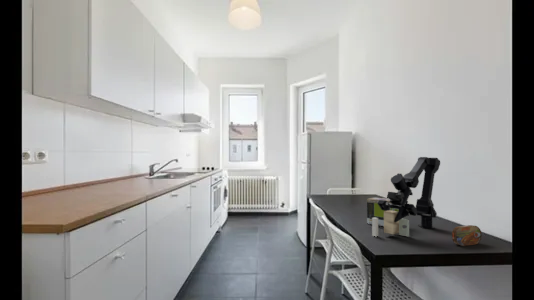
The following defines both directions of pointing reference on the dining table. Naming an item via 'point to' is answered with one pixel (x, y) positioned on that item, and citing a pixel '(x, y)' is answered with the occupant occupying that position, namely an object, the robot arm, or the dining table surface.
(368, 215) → the tea box
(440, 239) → the dining table surface
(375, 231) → the door frame
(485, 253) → the dining table surface
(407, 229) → the door leaf
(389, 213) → the block
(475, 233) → the tin
